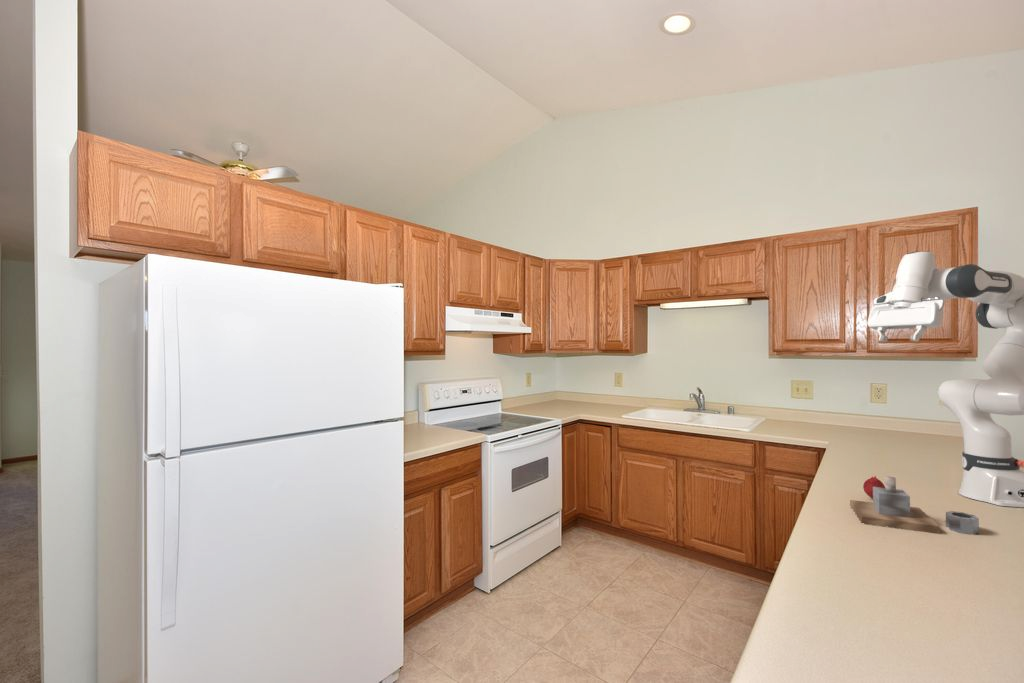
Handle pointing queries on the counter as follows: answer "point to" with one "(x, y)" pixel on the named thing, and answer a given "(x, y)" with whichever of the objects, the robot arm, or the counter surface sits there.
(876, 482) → the red rounded piece
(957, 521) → the collar
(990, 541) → the counter surface
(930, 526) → the post stand
